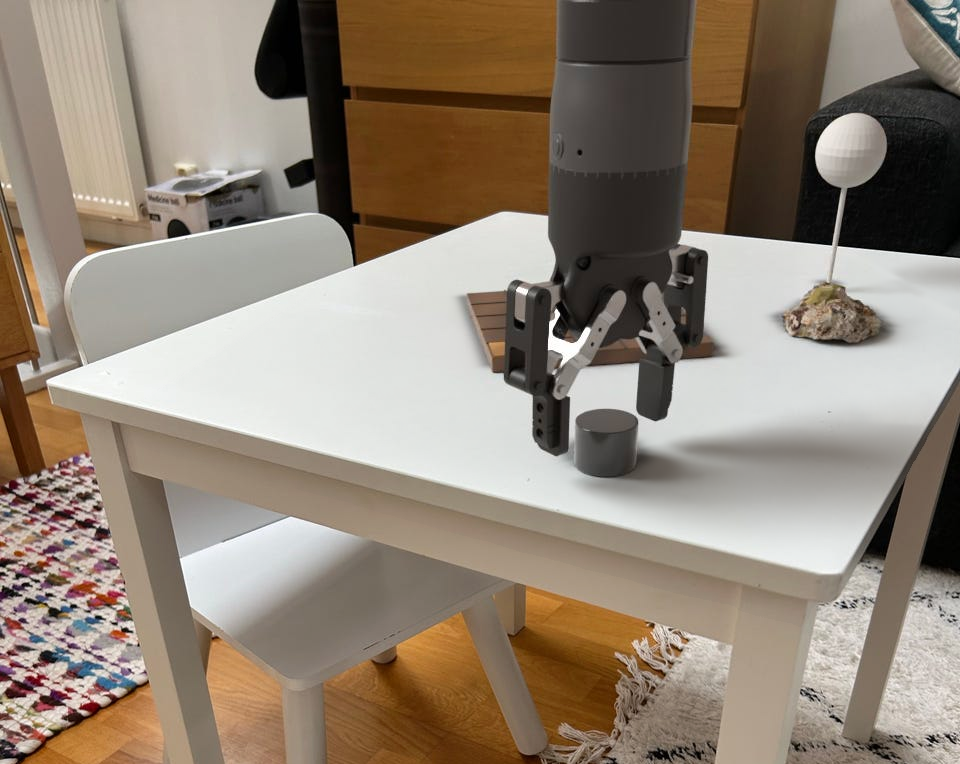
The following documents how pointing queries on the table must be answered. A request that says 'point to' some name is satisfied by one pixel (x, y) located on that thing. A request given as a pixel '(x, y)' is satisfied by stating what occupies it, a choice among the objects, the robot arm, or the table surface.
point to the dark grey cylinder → (605, 442)
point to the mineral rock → (831, 316)
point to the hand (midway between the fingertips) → (603, 433)
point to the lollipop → (849, 159)
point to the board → (492, 325)
